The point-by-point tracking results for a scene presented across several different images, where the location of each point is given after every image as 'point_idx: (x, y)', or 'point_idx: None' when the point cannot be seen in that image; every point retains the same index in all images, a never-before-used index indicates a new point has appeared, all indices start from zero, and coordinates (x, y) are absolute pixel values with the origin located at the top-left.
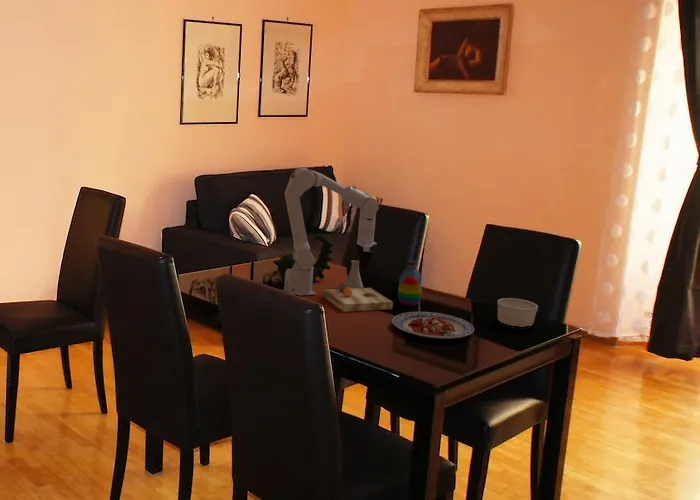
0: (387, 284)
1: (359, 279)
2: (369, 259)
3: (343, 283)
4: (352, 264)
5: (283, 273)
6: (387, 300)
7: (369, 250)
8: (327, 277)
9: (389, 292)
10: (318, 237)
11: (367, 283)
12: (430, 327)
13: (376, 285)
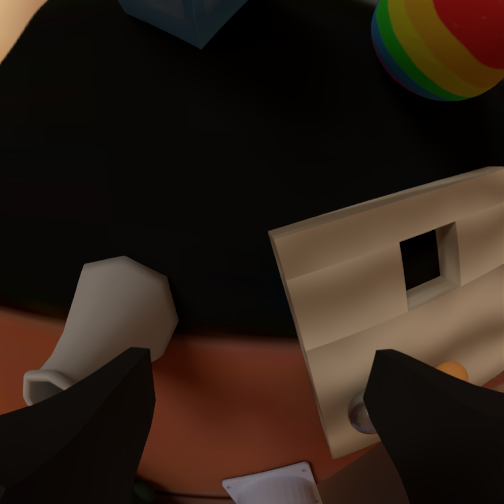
0: (32, 103)
1: (129, 306)
2: (491, 397)
3: None
4: None
5: None
6: (497, 186)
7: (59, 453)
8: (13, 388)
9: (196, 96)
10: None
11: (28, 217)
12: None
13: (54, 166)
